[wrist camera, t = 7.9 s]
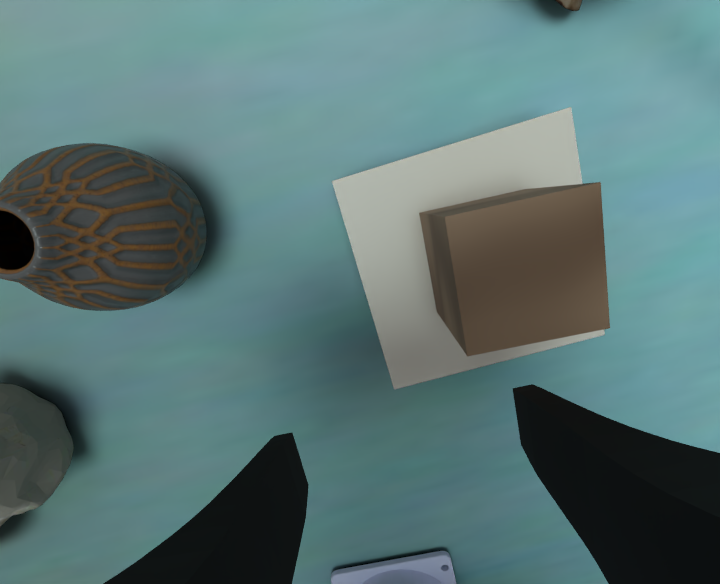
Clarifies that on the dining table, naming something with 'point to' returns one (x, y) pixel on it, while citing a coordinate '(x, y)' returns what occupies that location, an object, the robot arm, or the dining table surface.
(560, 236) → the walnut block
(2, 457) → the ceramic sculpture
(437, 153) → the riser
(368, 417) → the dining table surface
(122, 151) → the vase
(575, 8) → the mushroom
